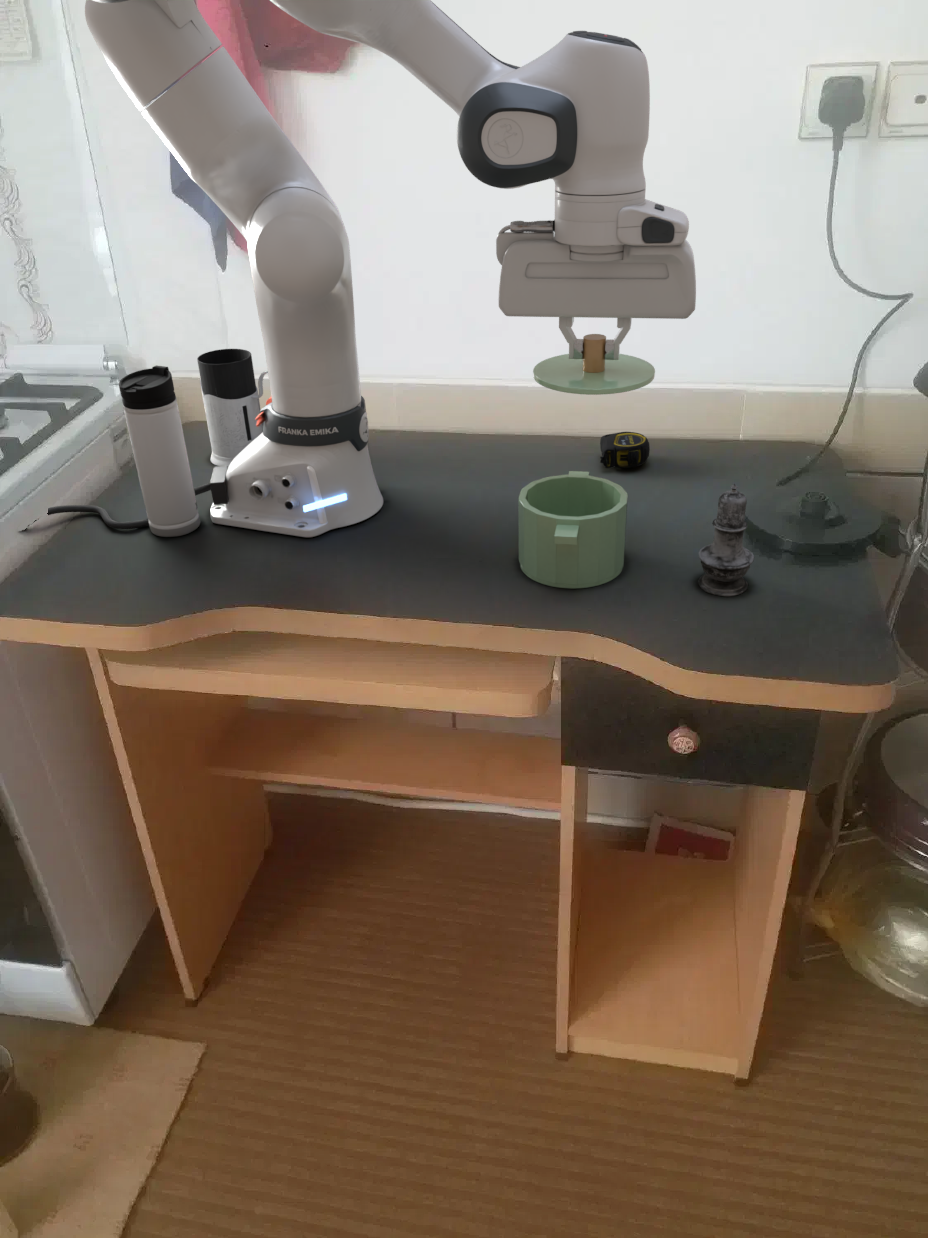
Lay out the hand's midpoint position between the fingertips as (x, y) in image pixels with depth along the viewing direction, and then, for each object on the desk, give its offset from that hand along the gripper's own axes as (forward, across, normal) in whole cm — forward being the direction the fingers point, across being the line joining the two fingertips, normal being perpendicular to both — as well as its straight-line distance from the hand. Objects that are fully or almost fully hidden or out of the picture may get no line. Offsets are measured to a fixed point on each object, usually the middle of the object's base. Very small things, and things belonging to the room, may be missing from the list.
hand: (594, 358), depth 105 cm
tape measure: (+23, +2, +26) cm, 35 cm away
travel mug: (+23, -53, 0) cm, 58 cm away
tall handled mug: (+23, -51, +23) cm, 60 cm away
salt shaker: (+23, +15, -6) cm, 29 cm away
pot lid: (+2, 0, 0) cm, 2 cm away
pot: (+23, -2, -4) cm, 23 cm away
